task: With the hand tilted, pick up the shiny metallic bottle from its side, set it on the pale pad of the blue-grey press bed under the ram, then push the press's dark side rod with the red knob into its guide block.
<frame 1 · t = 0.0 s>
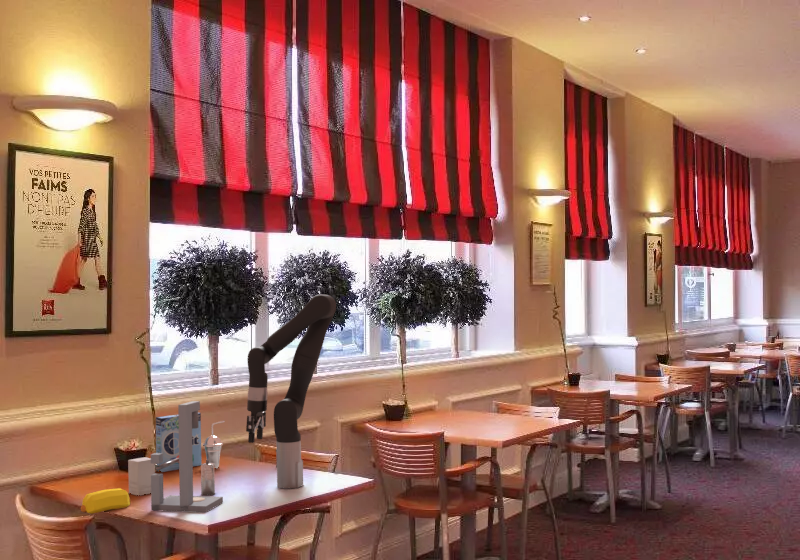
hand: (255, 440, 330), 17 cm above the table, tool pointing down, fingers open, 8 cm apart
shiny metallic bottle: (208, 494, 317), on the table
blue cereal box: (179, 468, 369), on the table
lever: (170, 463, 304), point 14 cm above the table, slide at 0.0 cm
lighter: (285, 466, 368), on the table
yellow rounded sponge: (106, 510, 297), on the table
press: (187, 506, 298), on the table
cup with straw: (213, 468, 368), on the table
supplement box: (142, 493, 321), on the table
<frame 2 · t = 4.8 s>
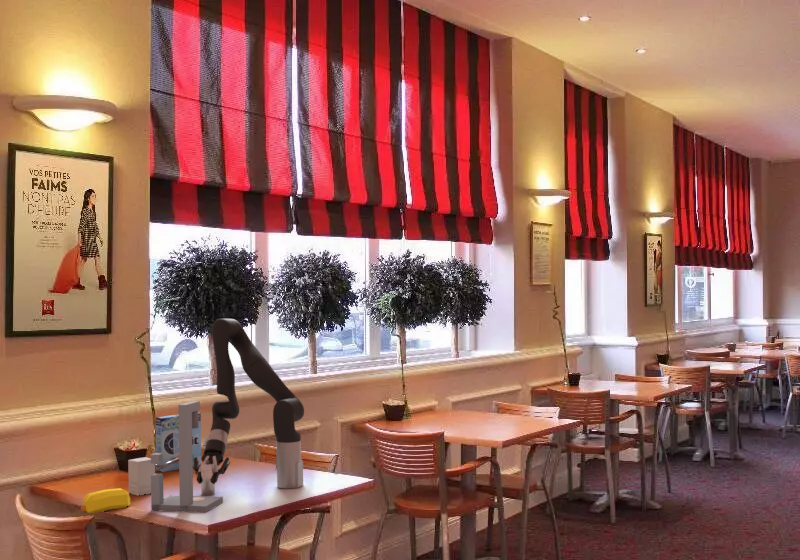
hand: (206, 482, 315), 5 cm above the table, tool tilted 45°, fingers closed on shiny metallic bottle, 4 cm apart
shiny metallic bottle: (208, 494, 317), on the table, touching gripper
everything else where it was.
when the fingers open (8 cm above the table, at t = 9.8 s): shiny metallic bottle drops 1 cm, resting on press.
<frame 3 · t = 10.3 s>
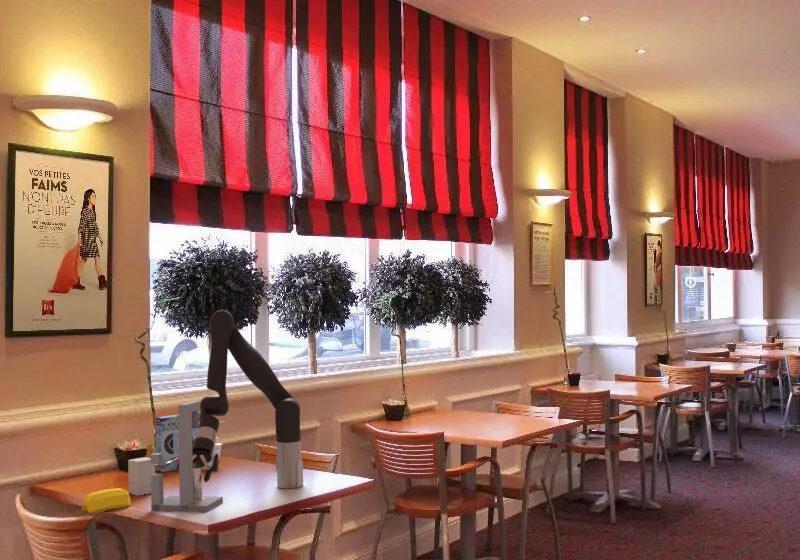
hand: (193, 481, 298), 9 cm above the table, tool tilted 45°, fingers open, 8 cm apart
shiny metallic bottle: (195, 499, 299), point 2 cm above the table, touching press
everything else where it was.
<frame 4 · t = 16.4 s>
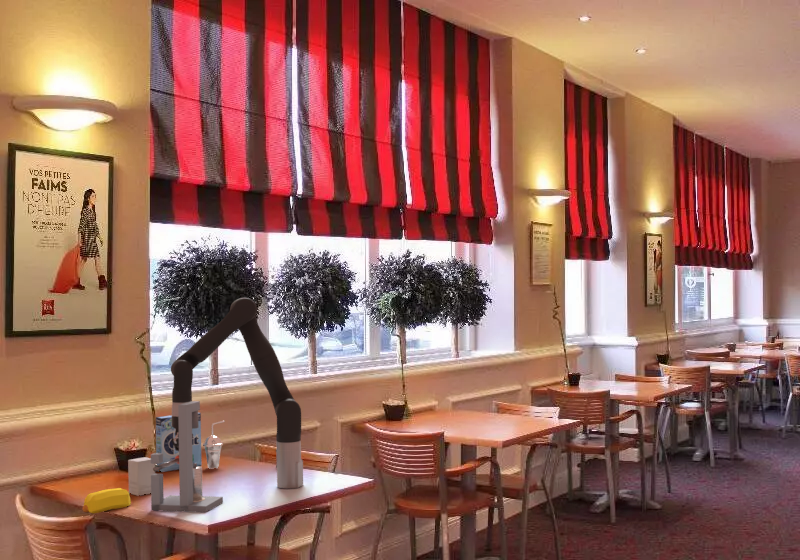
hand: (182, 461, 315), 13 cm above the table, tool pointing down, fingers closed
lever: (168, 463, 303), point 14 cm above the table, slide at 1.2 cm, touching gripper
everything else where it was.
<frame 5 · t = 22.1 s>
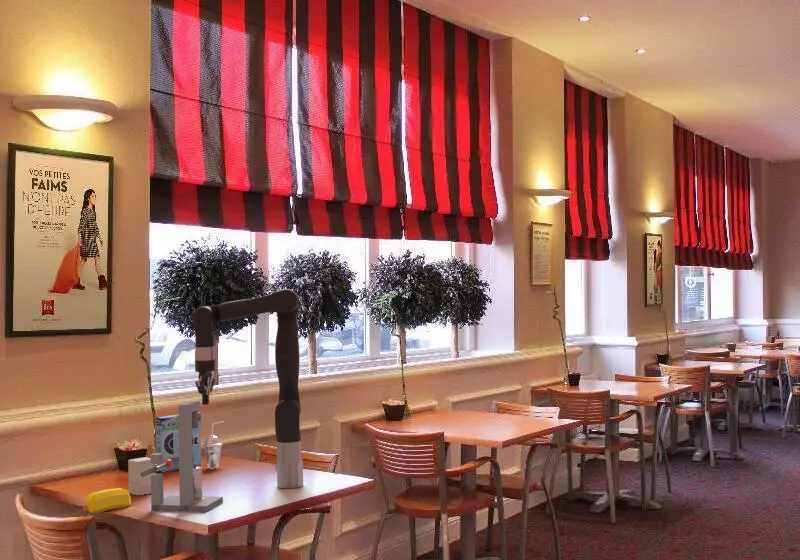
hand: (205, 404, 326), 32 cm above the table, tool pointing down, fingers closed
lever: (156, 468, 295), point 14 cm above the table, slide at 9.8 cm
everything else where it was.
at the end: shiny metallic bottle inside the target area on the press (0.1 cm from its centre), point 2.1 cm above the press's base; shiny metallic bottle tilted 0°; lever slide at 9.8 cm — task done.
